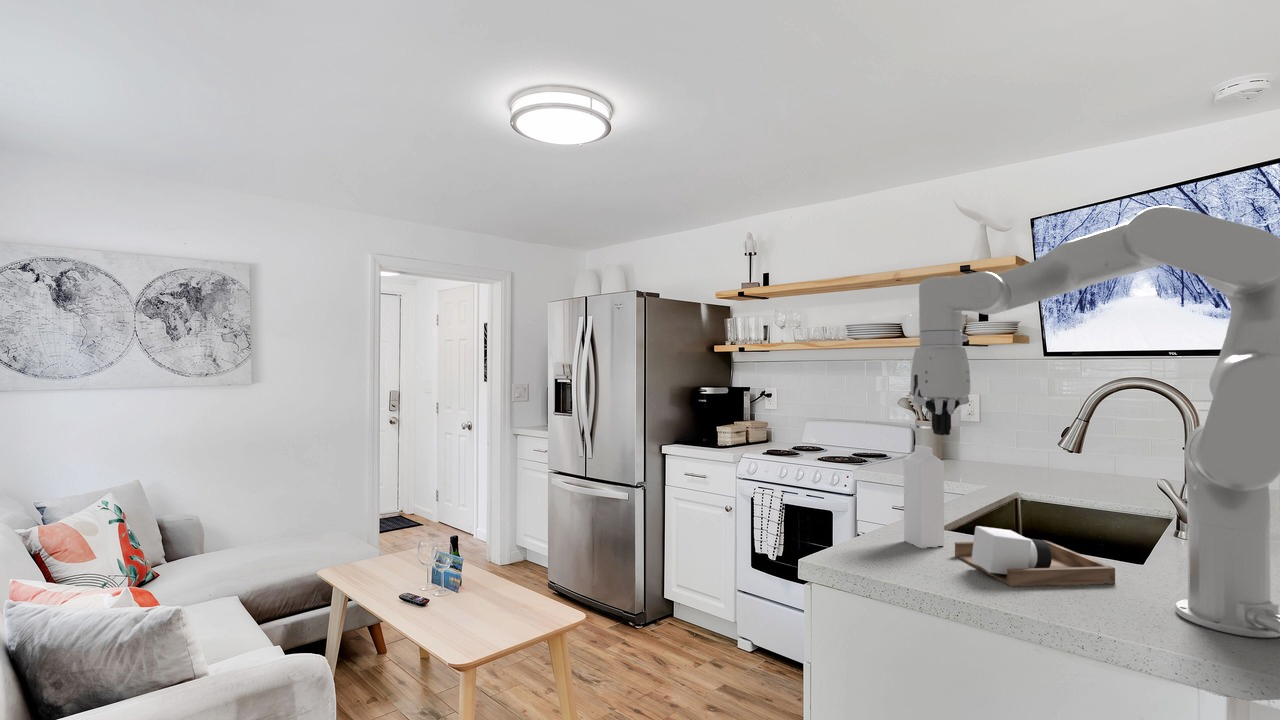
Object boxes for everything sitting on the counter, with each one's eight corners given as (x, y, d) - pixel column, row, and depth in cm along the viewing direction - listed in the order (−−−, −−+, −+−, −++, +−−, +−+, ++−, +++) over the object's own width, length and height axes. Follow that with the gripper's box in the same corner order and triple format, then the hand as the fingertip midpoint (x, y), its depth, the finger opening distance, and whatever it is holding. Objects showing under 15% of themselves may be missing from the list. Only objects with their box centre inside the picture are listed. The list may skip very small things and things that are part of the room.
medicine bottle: (989, 573, 117) (1054, 581, 117) (993, 535, 117) (1058, 543, 117) (970, 560, 124) (1031, 568, 124) (974, 525, 124) (1036, 533, 124)
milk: (926, 539, 144) (926, 444, 144) (944, 547, 138) (944, 447, 138) (903, 541, 143) (903, 444, 143) (920, 548, 137) (920, 448, 137)
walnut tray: (1115, 583, 115) (1115, 568, 115) (1010, 586, 114) (1010, 570, 114) (1045, 553, 133) (1045, 540, 133) (954, 556, 132) (954, 542, 132)
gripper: (966, 341, 127) (967, 431, 126) (894, 341, 126) (895, 432, 126) (989, 339, 119) (990, 436, 119) (913, 340, 118) (914, 437, 118)
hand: (941, 434), depth 122 cm, fingers closed
